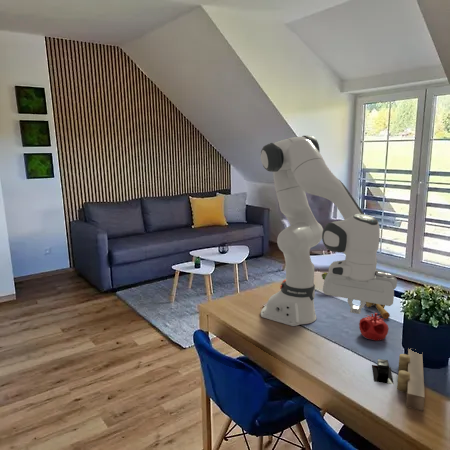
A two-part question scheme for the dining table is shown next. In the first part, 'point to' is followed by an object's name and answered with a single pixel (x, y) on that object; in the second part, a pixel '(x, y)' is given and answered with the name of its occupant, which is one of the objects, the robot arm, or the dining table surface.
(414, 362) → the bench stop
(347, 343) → the dining table surface
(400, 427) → the dining table surface
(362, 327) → the pomegranate
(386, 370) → the black boxy piece
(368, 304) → the kendama
